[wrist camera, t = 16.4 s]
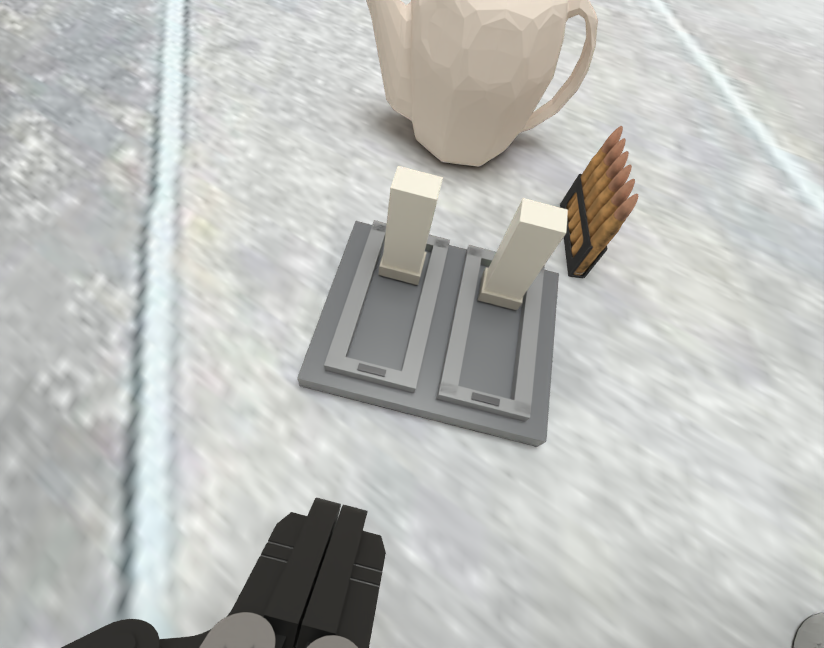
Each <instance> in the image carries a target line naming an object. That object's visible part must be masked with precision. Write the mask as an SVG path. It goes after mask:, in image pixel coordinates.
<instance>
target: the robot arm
mask: <svg viewBox="0 0 824 648" xmlns="http://www.w3.org/2000/svg"><path fill="white" fill-rule="evenodd" d="M340 507H341V504H339V503H335V502H331V501H328V500H324V499H320V498H315V500H314V502H313V505H312V507H311V509H310V511H309V514H308V516H304V515H300V514H297V513H293V512H291V513H290V514H288V515H287V516H286V517H285V518H283V519H282V520H281V521H280V522H279V523H277V524H276V526H275V528H274V530H273V532H272V534H271V536H270V538H269V540H268V543H267V544H266V545H265V547H264V549H263V551H262V553H261V556H260V557H259V559H258V561H257V563H256V565H255V567H254V568H253V570H252V572H251V574H250V576H249V578H248V580H247V582H246V584H245V586H244V588H243V589H242V591H241V593H240V595H239V597H238V599H237V601H236V603H235V605H234V607H233V608H232V610H231V612H230V613H229V614H228V616H227V617H226V618H224V619H222V620H221V621H220V622H218V623H217V624H216V625H215V626H214V627H213V628H212V629H211V630H209V631H207V632H204V633H202V634H199V635H195V636H190V637H181V638H169V639H159V636H158V633H157V631H156V630H155V628H154V627H153V626H152V625H151V624H149V623H147V622H145V621H142V620H138V619H126V620H120V621H117V622H113V623H111V624H109V625H106V626H104V627H102V628H100V629H98V630H96V631H94V632H92V633H90V634H88V635H86V636H84V637H82V638H80V639H78V640H76V641H74V642H72V643H70V644H68V645H66V646H64V647H62V648H369V644H370V638H371V633H372V627H373V621H374V616H375V610H376V604H377V599H378V593H379V587H380V582H381V576H382V570H383V565H384V559H385V554H386V552H385V548H384V545H383V541H382V538H381V536H380V535H377V534H373V533H369V532H365V531H363V527H364V523H365V519H366V515H367V511H366V510H362V509H358V508H355V507H351V506H347V505H343V506H342V508H341V511H340ZM339 512H340V514H339ZM338 516H339V517H338ZM794 648H824V613H819V614H816V615H813V616H811V617H810V618H808V619H807V620H806V621H804V623H803V624H802V625H801V627H800V628H799V630H798V632H797V635H796V638H795V641H794Z"/></svg>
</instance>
